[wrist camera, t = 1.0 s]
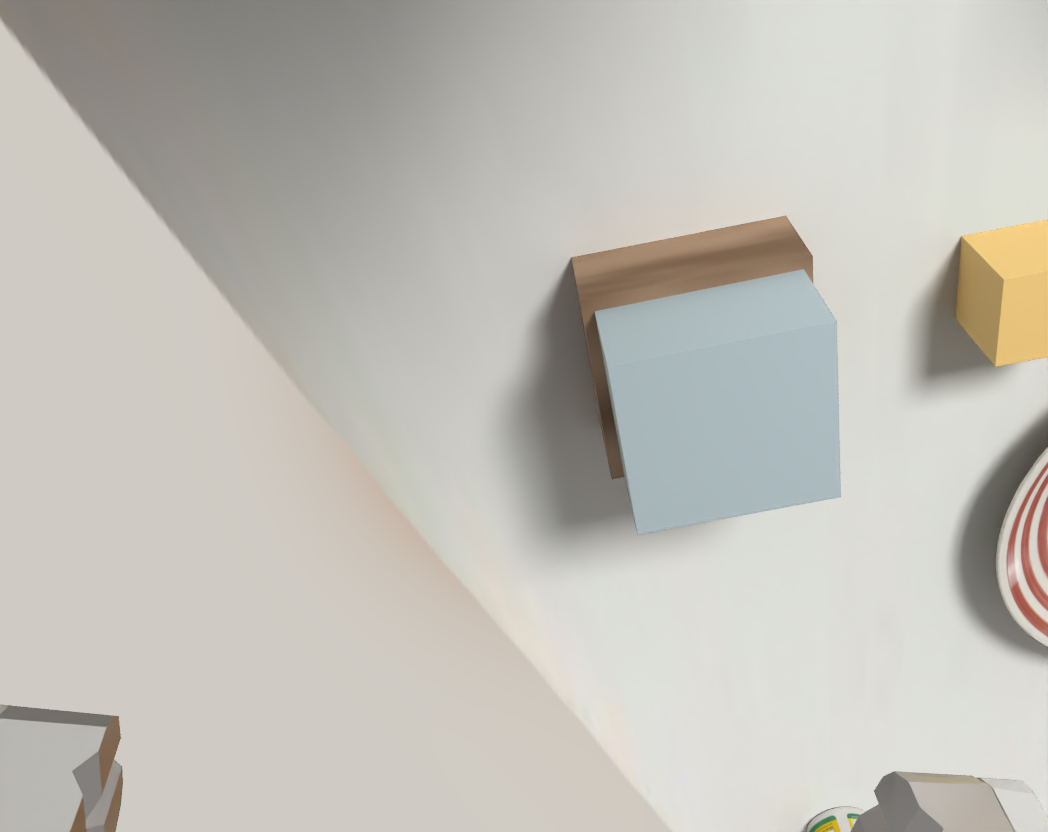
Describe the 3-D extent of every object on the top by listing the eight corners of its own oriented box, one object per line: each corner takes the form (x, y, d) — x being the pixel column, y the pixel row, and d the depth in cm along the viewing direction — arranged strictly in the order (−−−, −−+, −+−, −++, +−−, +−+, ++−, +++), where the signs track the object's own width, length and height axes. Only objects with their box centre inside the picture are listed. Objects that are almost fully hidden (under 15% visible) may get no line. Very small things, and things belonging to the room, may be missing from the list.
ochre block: (960, 235, 52) (1004, 279, 48) (1058, 216, 52) (1110, 259, 48) (954, 318, 55) (995, 366, 51) (1047, 301, 55) (1096, 348, 50)
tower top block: (594, 311, 48) (607, 366, 44) (803, 269, 47) (836, 321, 43) (623, 472, 54) (637, 534, 50) (810, 436, 53) (840, 497, 49)
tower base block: (570, 254, 52) (580, 300, 48) (784, 212, 51) (812, 256, 47) (600, 425, 58) (611, 478, 54) (791, 389, 57) (817, 441, 53)
